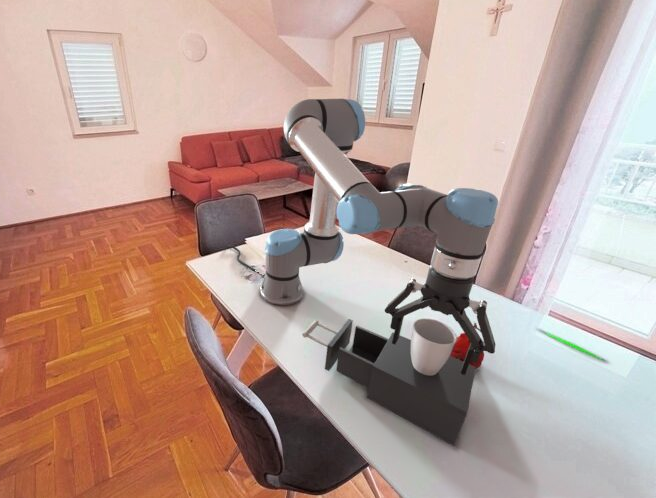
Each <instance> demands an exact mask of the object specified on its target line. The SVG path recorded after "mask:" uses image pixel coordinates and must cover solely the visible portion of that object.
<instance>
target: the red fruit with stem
mask: <svg viewBox="0 0 656 498" xmlns="http://www.w3.org/2000/svg"><path fill="white" fill-rule="evenodd" d="M473 326H474V328H475V329H476V331H477V330H478V331H479V332H480V333H481V330H480V327H478V325H477V322H473ZM470 343H471V342H470V341H469V339H468V338H467V336H466V334H465V333H464V332H462V333H460V334H459V335H458V336H457V340H456V342H455V345H454V347H453V350H452V352H451V354H450V356H451V357H453V358H456V359H458V360H460V361H463V362H464V360H465V357H466V354H467V351H468V349H469V346H470ZM484 358H485V351H482V353H481V354H480V356H479V359H478V362H476V363H474V362H472V361H470V363H469V364H470V365H472V366H475V367H476V369H475V371H476V370H477V369H479V368H481V366H482V364H483V361H484Z"/></svg>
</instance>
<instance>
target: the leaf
mask: <svg viewBox="0 0 656 498" xmlns="http://www.w3.org/2000/svg"><path fill="white" fill-rule="evenodd" d="M541 332H542V333H544V334H546V335H548V336H550V337H552V338H554V339H556V340H557V341H560V342H561V343H564V344H566V345H568V346H570V347H573V349H576V350H579V351H581V352H583V353H585V354H588V355H589V356H593V357H595V358H597V359H599V360H602V361H605V362H606V360H605V359H603V358H601V357H600V356H598V355H596V354H594V353H592V352H589V351H588V350H586V349H584V348H582V347H581V346H578V345H576V344H574V343H572V342H570V341H567V340H565V339H563V338H560V337H558V336H555V335H552V334H550V333H548V332H545V331H542V330H541Z"/></svg>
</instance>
